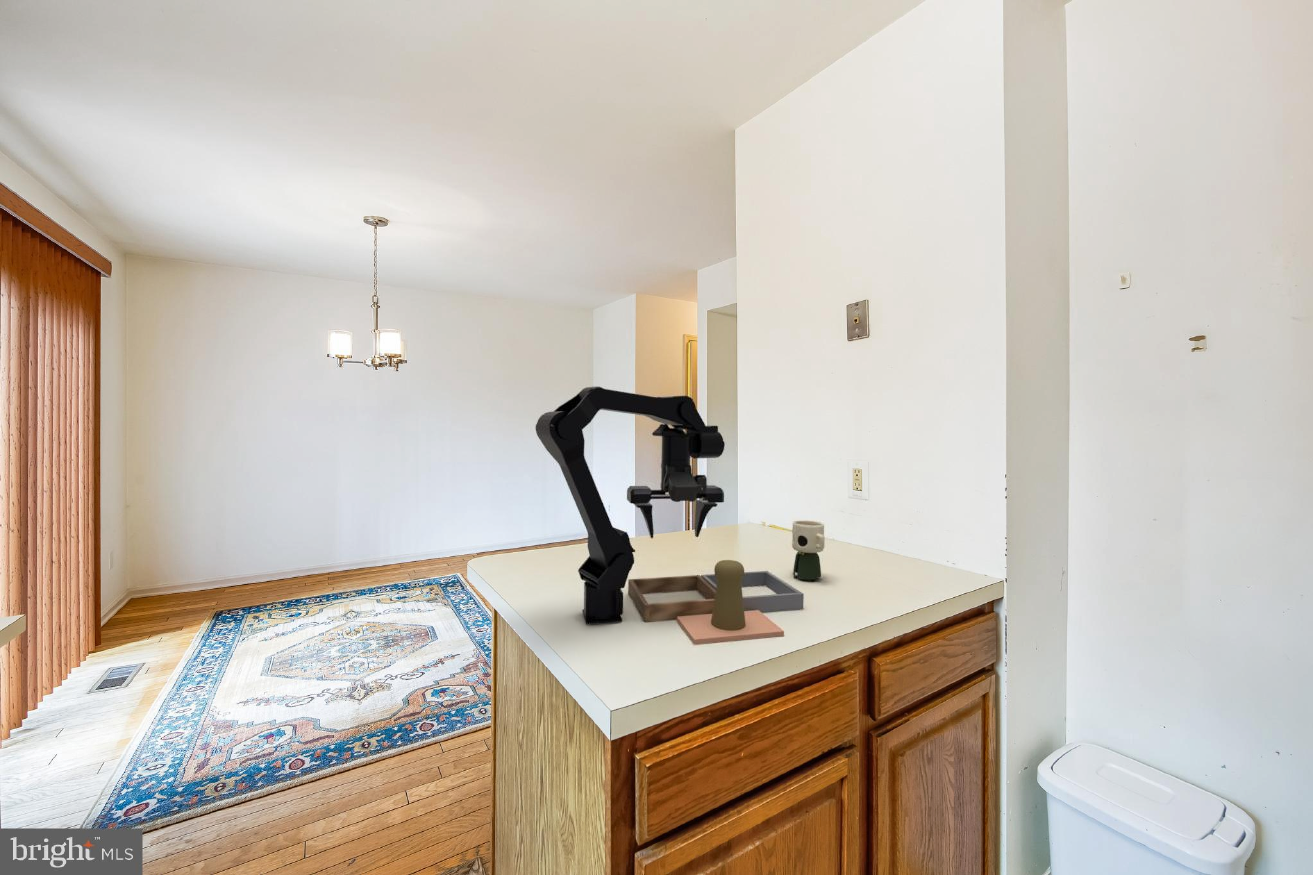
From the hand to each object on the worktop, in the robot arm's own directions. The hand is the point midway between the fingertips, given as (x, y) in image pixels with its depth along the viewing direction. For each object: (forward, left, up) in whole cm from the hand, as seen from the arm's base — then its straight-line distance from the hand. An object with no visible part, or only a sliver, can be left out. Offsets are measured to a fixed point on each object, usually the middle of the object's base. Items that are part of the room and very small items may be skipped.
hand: (674, 537), depth 103 cm
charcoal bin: (+16, -1, -13) cm, 20 cm away
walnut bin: (0, -1, -13) cm, 13 cm away
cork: (+6, -15, -12) cm, 20 cm away
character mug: (+35, +9, -13) cm, 38 cm away
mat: (+6, -15, -13) cm, 20 cm away
